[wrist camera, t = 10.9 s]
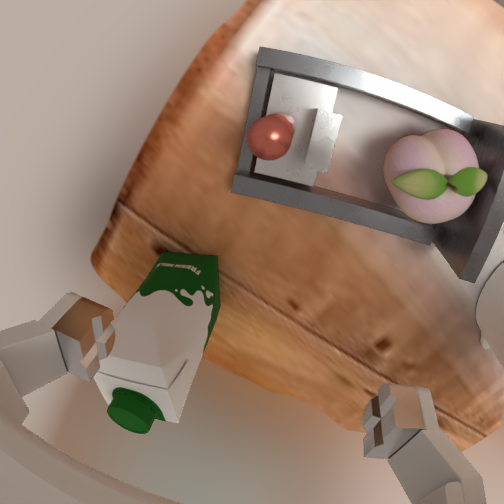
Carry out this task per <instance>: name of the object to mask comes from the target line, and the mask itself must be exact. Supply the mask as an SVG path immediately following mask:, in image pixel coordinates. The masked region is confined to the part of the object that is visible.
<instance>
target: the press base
mask: <svg viewBox="0 0 504 504" xmlns="http://www.w3.org/2000/svg"><path fill="white" fill-rule="evenodd" d="M256 65H257V66H258V67H257V72H256V77H255V82H254V87H253V92H252V96H251V101H250V106H249V111H248V116H247V121H246V127H245V132H244V137H243V142H242V147H241V153H240V158H239V163H238V169H237V172H236V173H235V174H234V179H233V185H232V190H231V192H232V193H236V194H241V195H245V196H249V197H254V198H258V199H262V200H266V201H271V202H275V203H279V204H283V205H287V206H291V207H295V208H299V209H303V210H307V211H311V212H315V213H318V214H322V215H326V216H330V217H334V218H337V219H341V220H345V221H348V222H352V223H356V224H359V225H363V226H366V227H370V228H373V229H377V230H380V231H384V232H387V233H391V234H394V235H397V236H401V237H404V238H407V239H411V240H414V241H417V242H420V243H424V244H427V245H430V244H431V241H432V242H433V243H434V244H435V246H436V247H437V248H438V250H439V251H440V252H441V254H442V255H443V256H444V258H445V259H446V260H447V262H448V263H449V265H450V266H451V268H452V269H453V270H454V272H455V273H456V275H457V276H458V278H459V279H462V280H465V281H469V282H472V283H475V281H476V279H477V277H478V275H479V273H480V271H481V269H482V267H483V265H484V263H485V261H486V259H487V257H488V255H489V253H490V251H491V249H492V246H493V244H494V242H495V240H496V237H497V235H498V233H499V230H500V228H501V226H502V223H503V221H504V126H502V125H498V124H494V123H489V122H485V121H480V120H476V119H473V116H471V115H469V114H467V113H465V112H463V111H461V110H459V109H457V108H455V107H453V106H451V105H449V104H447V103H445V102H443V101H440V100H438V99H436V98H434V97H431V96H429V95H427V94H424V93H422V92H420V91H417V90H415V89H412V88H410V87H407V86H405V85H402V84H399V83H397V82H394V81H391V80H388V79H386V78H383V77H380V76H377V75H374V74H371V73H368V72H365V71H362V70H358V69H355V68H352V67H348V66H345V65H341V64H338V63H334V62H330V61H327V60H323V59H319V58H314V57H310V56H306V55H301V54H297V53H292V52H287V51H282V50H277V49H271V48H265V47H260V48H259V52H258V57H257V62H256ZM272 70H274V71H279V72H284V73H289V74H294V75H298V76H302V77H307V78H311V79H315V80H319V81H323V82H327V83H331V84H334V85H338V86H341V87H345V88H348V89H352V90H355V91H358V92H361V93H365V94H368V95H371V96H374V97H377V98H380V99H383V100H386V101H388V102H391V103H394V104H397V105H399V106H402V107H405V108H407V109H410V110H412V111H415V112H417V113H420V114H422V115H425V116H427V117H430V118H432V119H434V120H437V121H439V122H441V123H443V124H446V125H448V126H450V127H452V128H454V129H456V130H460V131H463V132H465V133H464V137H465V138H466V139H467V140H468V142H469V143H470V145H471V146H472V148H473V150H474V152H475V154H476V157H477V160H478V165H479V168H480V169H482V170H484V171H485V172H486V173H487V174H488V178H487V181H486V183H485V185H484V186H483V188H482V189H481V190H480V191H479V192H477V193H476V195H475V198H474V200H473V202H472V203H471V205H470V206H469V208H468V209H467V210H466V211H465V212H464V213H463V214H462V215H460V216H459V217H457V218H454V219H452V220H449V221H446V222H441V223H436V224H434V225H433V226H432V225H431V224H428V223H422V222H419V221H416V220H414V219H412V218H410V217H409V216H408V215H406V214H405V213H404V212H402V211H399V210H395V209H392V208H389V207H386V206H383V205H379V204H376V203H373V202H369V201H366V200H363V199H359V198H356V197H352V196H349V195H345V194H342V193H338V192H334V191H331V190H327V189H323V188H320V187H316V186H309V185H305V184H301V183H297V182H293V181H289V180H285V179H281V178H277V177H273V176H268V175H264V174H260V173H255V172H254V171H252V166H253V161H254V156H255V155H254V154H253V153H252V152H251V151H250V149H249V148H248V145H247V141H246V136H247V131H248V129H249V127H250V126H251V124H252V123H253V122H255V121H256V120H258V119H260V118H262V117H263V112H264V107H265V102H266V98H267V93H268V88H269V83H270V79H271V74H272Z"/></svg>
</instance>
